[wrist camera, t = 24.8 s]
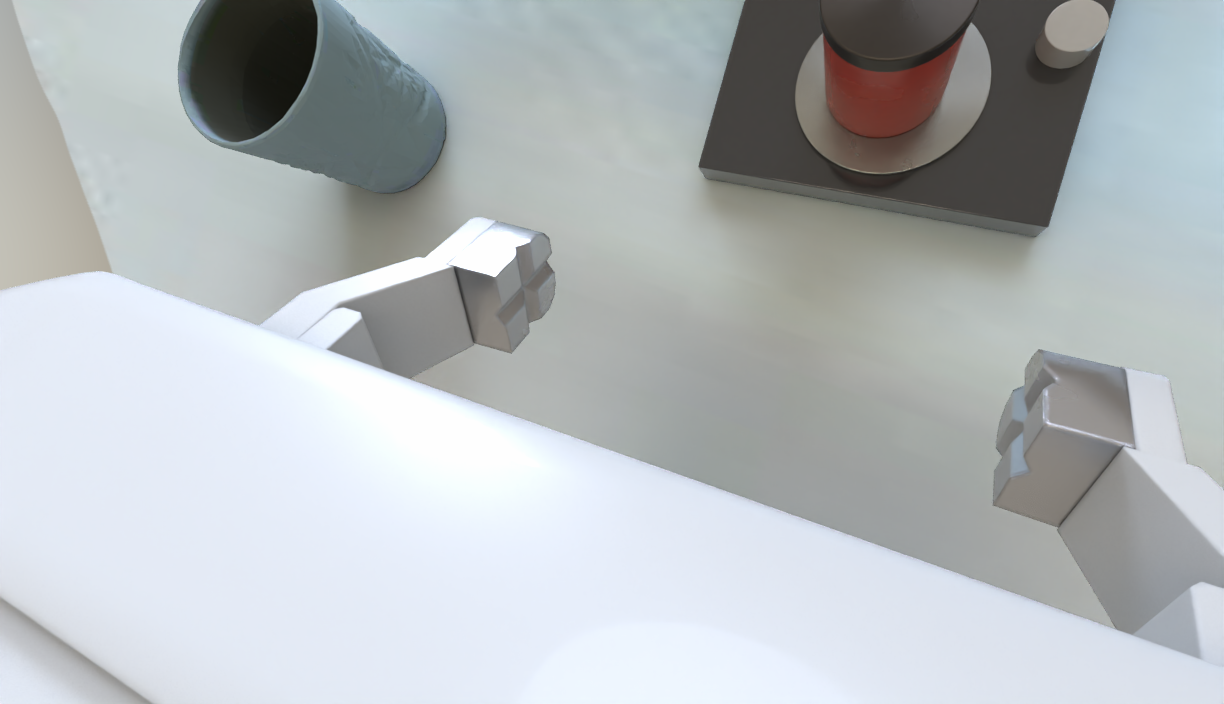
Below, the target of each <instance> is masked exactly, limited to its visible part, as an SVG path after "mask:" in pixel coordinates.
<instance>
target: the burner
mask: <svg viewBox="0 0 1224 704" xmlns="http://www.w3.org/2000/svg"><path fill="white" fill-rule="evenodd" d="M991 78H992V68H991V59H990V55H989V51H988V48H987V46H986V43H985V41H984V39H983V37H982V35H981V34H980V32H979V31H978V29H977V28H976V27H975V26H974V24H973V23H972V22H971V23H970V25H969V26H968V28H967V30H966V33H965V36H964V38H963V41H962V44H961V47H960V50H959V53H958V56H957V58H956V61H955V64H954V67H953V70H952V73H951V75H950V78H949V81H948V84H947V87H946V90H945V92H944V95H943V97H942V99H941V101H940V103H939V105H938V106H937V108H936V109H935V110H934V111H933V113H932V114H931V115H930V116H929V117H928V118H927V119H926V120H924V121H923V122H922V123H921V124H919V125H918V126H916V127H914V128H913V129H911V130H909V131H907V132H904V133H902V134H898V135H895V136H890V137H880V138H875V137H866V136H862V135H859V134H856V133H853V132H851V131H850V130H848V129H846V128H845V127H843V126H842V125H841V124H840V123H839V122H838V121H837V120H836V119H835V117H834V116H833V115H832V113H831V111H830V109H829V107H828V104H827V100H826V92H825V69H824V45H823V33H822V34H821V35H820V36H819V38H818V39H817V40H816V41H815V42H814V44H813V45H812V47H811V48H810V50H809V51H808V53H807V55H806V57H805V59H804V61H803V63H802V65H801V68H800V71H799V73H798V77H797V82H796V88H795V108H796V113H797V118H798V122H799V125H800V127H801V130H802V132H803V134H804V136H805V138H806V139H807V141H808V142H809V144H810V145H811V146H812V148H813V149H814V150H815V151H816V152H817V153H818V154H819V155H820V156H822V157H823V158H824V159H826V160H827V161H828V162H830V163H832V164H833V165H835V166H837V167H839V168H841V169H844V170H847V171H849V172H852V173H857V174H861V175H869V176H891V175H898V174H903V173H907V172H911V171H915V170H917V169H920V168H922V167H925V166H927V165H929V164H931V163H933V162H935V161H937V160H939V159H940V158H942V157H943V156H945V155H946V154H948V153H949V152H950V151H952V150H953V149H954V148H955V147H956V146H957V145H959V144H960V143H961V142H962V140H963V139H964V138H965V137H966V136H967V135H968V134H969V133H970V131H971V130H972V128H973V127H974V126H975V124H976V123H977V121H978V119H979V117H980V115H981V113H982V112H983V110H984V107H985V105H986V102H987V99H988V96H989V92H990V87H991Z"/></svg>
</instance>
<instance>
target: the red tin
mask: <svg viewBox="0 0 1224 704" xmlns="http://www.w3.org/2000/svg"><path fill="white" fill-rule="evenodd" d="M979 1H980V0H819V11H820V23H821V28H822V31H823V45H824V69H825V92H826V100H827V104H828V107H829V109H830V111H831V113H832V115H833V116H834V117H835V119H836V120H837V121H838V122H839V123H840V124H841V125H842V126H843V127H845V128H846V129H848V130H850V131H851V132H853V133H856V134H859V135H862V136H866V137H875V138H880V137H890V136H895V135H898V134H902V133H904V132H907V131H909V130H911V129H913V128H914V127H916V126H918V125H919V124H921V123H922V122H923V121H924V120H926V119H927V118H928V117H929V116H930V115H931V114H932V113H933V111H934V110H935V109H936V108H937V106H938V105H939V103H940V101H941V99H942V97H943V95H944V92H945V90H946V87H947V84H948V81H949V78H950V75H951V73H952V70H953V67H954V64H955V61H956V58H957V56H958V53H959V50H960V47H961V44H962V41H963V38H964V36H965V33H966V30H967V28H968V26H969V25H970V23H971V21H972V19H973V17H974V15H975V12H976V10H977V7H978V4H979Z"/></svg>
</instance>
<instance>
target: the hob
mask: <svg viewBox="0 0 1224 704" xmlns="http://www.w3.org/2000/svg"><path fill="white" fill-rule="evenodd" d="M1115 1H1116V0H980V1H979V4H978V7H977V10H976V12H975V15H974V17H973V19H972V21H971V22H972V23H973V24H974V26H975V27H976V28H977V29H978V31H979V32H980V34H981V35H982V37H983V39H984V41H985V43H986V46H987V48H988V51H989V55H990V59H991V68H992V78H991V87H990V92H989V96H988V99H987V102H986V105H985V107H984V110H983V112H982V113H981V115H980V117H979V119H978V121H977V123H976V124H975V126H974V127H973V128H972V130H971V131H970V133H969V134H968V135H967V136H966V137H965V138H964V139H963V140H962V142H961V143H960V144H959V145H957V146H956V147H955V148H954V149H953V150H952V151H950V152H949V153H948V154H946V155H945V156H943V157H942V158H940V159H939V160H937V161H935V162H933V163H931V164H929V165H927V166H925V167H922V168H920V169H917V170H915V171H911V172H907V173H903V174H898V175H891V176H869V175H861V174H857V173H852V172H849V171H847V170H844V169H841V168H839V167H837V166H835V165H833V164H832V163H830V162H828V161H827V160H826V159H824V158H823V157H822V156H820V155H819V154H818V153H817V152H816V151H815V150H814V149H813V148H812V146H811V145H810V144H809V142H808V141H807V139H806V138H805V136H804V134H803V132H802V130H801V127H800V125H799V122H798V118H797V113H796V108H795V88H796V82H797V77H798V73H799V71H800V68H801V65H802V63H803V61H804V59H805V57H806V55H807V53H808V51H809V50H810V48H811V47H812V45H813V44H814V42H815V41H816V40H817V39H818V38H819V36H820V35H821V34H822V33H823V31H822V28H821V23H820V11H819V0H745V2H744V5H743V9H742V13H741V16H740V20H739V23H738V27H737V30H736V34H735V38H734V41H733V45H732V48H731V52H730V55H729V59H728V63H727V66H726V70H725V73H724V77H723V80H722V84H721V88H720V91H719V95H718V98H717V102H716V105H715V109H714V113H713V116H712V120H711V123H710V127H709V130H708V134H707V138H706V141H705V145H704V148H703V152H702V155H701V159H700V163H699V169H700V170H701V172H702V173H703V175H704V177H705V178H707V179H712V180H718V181H723V182H729V183H735V184H740V185H746V186H751V187H757V188H763V189H768V190H774V191H780V192H785V193H791V194H796V195H802V196H808V197H813V198H819V199H824V200H830V201H836V202H841V203H847V204H853V205H858V206H864V207H869V208H875V209H881V210H886V211H892V212H897V213H903V214H909V215H914V216H920V217H926V218H931V219H937V220H942V221H948V222H954V223H959V224H965V225H971V226H976V227H982V228H987V229H993V230H999V231H1004V232H1010V233H1015V234H1021V235H1027V236H1032V237H1036V236H1037V235H1039V234H1040V233H1041V232H1042V231H1044V230H1045V229H1046V228H1047V227H1048V226H1049V223H1050V220H1051V216H1052V213H1053V210H1054V206H1055V203H1056V200H1057V196H1058V193H1059V189H1060V186H1061V183H1062V179H1063V176H1064V173H1065V169H1066V166H1067V163H1068V159H1069V156H1070V152H1071V149H1072V146H1073V142H1074V139H1075V136H1076V132H1077V129H1078V126H1079V122H1080V119H1081V115H1082V112H1083V109H1084V105H1085V102H1086V99H1087V95H1088V92H1089V88H1090V85H1091V82H1092V78H1093V75H1094V72H1095V68H1096V65H1097V62H1098V58H1099V55H1100V51H1101V48H1102V45H1103V41H1104V38H1105V35H1106V32H1107V29H1108V26H1109V21H1110V18H1111V14H1112V11H1113V8H1114V4H1115Z"/></svg>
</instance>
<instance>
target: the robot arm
mask: <svg viewBox="0 0 1224 704" xmlns="http://www.w3.org/2000/svg"><path fill="white" fill-rule="evenodd" d="M551 254H552V251H551V245H550V239H549V237H547V236H546V235H545V234H544V233H542V232H538V231H534V230H530V229H526V228H522V227H518V226H515V225H511V224H507V223H503V222H498V221H494V220H490V219H486V218H482V217H476V218H471V219H470V220H469V221H468V222H467V223H466V224H464V225H463V226H462V227H461V228H460V229H458V230H457V231H456V232H455V233H454V234H453V235H451V236H450V237H449V238H448V239H447V240H446V241H444V242H443V243H442V244H441V245H440V246H439V247H437V248H436V249H435V250H434V251H433V252H431V253H430V254H429V255H428V256H427V257H426V258H421V257H416V258H413V259H409V260H406V261H403V262H399V263H396V264H393V265H390V266H386V267H383V268H380V269H377V270H373V271H370V272H367V273H363V274H360V275H357V276H354V277H350V278H347V279H344V280H341V281H337V282H334V283H331V284H327V285H324V286H321V287H318V288H314V289H311V290H308V291H305V292H302V293H301V294H299V295H298V296H297V297H295V298H294V299H293V300H292V301H290V302H289V303H288V304H286V305H285V306H284V307H282V308H281V309H280V310H278V311H277V312H276V313H274V314H273V315H272V316H271V317H269V318H268V319H267V320H265V321H264V322H263V323H261V324H260V325H259V326H258V325H256V324H253V323H250V322H247V321H244V320H241V319H239V318H236V317H233V316H230V315H227V314H225V313H222V312H219V311H216V310H213V309H210V308H208V307H205V306H202V305H199V304H196V303H194V302H191V301H188V300H185V299H182V298H179V297H177V296H174V295H171V294H168V293H165V292H163V291H160V290H157V289H154V288H151V287H148V286H146V285H143V284H140V283H138V282H135V281H133V280H130V279H127V278H125V277H122V276H119V275H116V274H112V273H107V272H100V271H99V272H98V271H97V272H87V273H80V274H74V275H68V276H63V277H57V278H52V279H47V280H43V281H38V282H34V283H30V284H25V285H21V286H16V287H12V288H8V289H4V290H0V704H1224V489H1223V488H1222V487H1221V486H1219V485H1218V484H1217V483H1216V482H1215V481H1214V480H1213V479H1212V478H1211V477H1210V476H1209V475H1208V474H1207V473H1206V472H1205V471H1204V470H1203V469H1202V468H1201V467H1197V466H1193V465H1190V464H1188V463H1187V459H1186V454H1185V449H1184V445H1183V440H1182V435H1181V430H1180V426H1179V421H1178V416H1177V412H1176V407H1175V402H1174V398H1173V393H1172V388H1171V383H1170V381H1169V380H1168V379H1167V378H1166V377H1165V376H1163V375H1158V374H1154V373H1149V372H1144V371H1139V370H1134V369H1130V368H1125V367H1120V368H1119V367H1114V366H1110V365H1106V364H1101V363H1097V362H1093V361H1088V360H1084V359H1080V358H1075V357H1071V356H1066V355H1062V354H1058V353H1053V352H1049V351H1045V350H1040V349H1038V351H1037V352H1036V353H1035V354H1034V355H1033V356H1032V358H1031V360H1030V361H1029V363H1028V365H1027V367H1026V368H1025V385H1024V386H1022V387H1020V388H1017V389H1015V390H1013V392H1012V394H1011V396H1010V398H1009V400H1008V402H1007V403H1006V405H1005V408H1004V411H1003V414H1002V416H1001V419H1000V422H999V427H998V432H997V439H996V449H997V450H998V452H999V453H1000V454H1001V456H1002V458H1001V460H1000V462H999V464H998V465H997V467H996V469H995V470H994V488H993V506H996V507H999V508H1002V509H1005V510H1008V511H1011V512H1014V513H1017V514H1020V515H1023V516H1026V517H1029V518H1032V519H1035V520H1037V521H1040V522H1043V523H1046V524H1049V525H1052V526H1055V527H1058V529H1057V531H1058V532H1059V534H1060V536H1061V537H1062V539H1063V541H1064V542H1065V544H1066V546H1067V547H1068V549H1069V551H1070V552H1071V554H1072V556H1073V557H1074V559H1075V561H1076V562H1077V564H1078V566H1079V567H1080V569H1081V571H1082V572H1083V574H1084V576H1085V577H1086V579H1087V581H1088V582H1089V584H1090V586H1091V587H1092V589H1093V591H1094V592H1095V594H1096V596H1097V597H1098V599H1099V601H1100V602H1101V604H1102V606H1103V607H1104V609H1105V611H1106V612H1107V614H1108V616H1109V617H1110V619H1111V621H1112V622H1113V624H1114V626H1115V627H1116V629H1114V628H1111V627H1108V626H1105V625H1103V624H1100V623H1097V622H1094V621H1091V620H1088V619H1086V618H1083V617H1080V616H1077V615H1074V614H1071V613H1069V612H1066V611H1063V610H1060V609H1057V608H1055V607H1052V606H1049V605H1046V604H1043V603H1040V602H1038V601H1035V600H1032V599H1029V598H1026V597H1023V596H1021V595H1018V594H1015V593H1012V592H1009V591H1007V590H1004V589H1001V588H998V587H995V586H992V585H989V584H987V583H984V582H981V581H978V580H975V579H972V578H970V577H967V576H964V575H961V574H958V573H955V572H953V571H950V570H947V569H944V568H941V567H938V566H936V565H933V564H930V563H927V562H924V561H921V560H919V559H916V558H913V557H910V556H907V555H904V554H902V553H899V552H896V551H893V550H890V549H887V548H885V547H882V546H879V545H876V544H873V543H871V542H868V541H865V540H862V539H859V538H856V537H854V536H851V535H848V534H845V533H842V532H840V531H837V530H834V529H831V528H828V527H826V526H823V525H820V524H817V523H814V522H811V521H809V520H806V519H803V518H800V517H797V516H795V515H792V514H789V513H786V512H783V511H781V510H778V509H775V508H772V507H769V506H767V505H764V504H761V503H758V502H755V501H752V500H750V499H747V498H744V497H741V496H738V495H736V494H733V493H730V492H727V491H724V490H722V489H719V488H716V487H713V486H710V485H707V484H705V483H702V482H699V481H696V480H693V479H690V478H688V477H685V476H682V475H679V474H676V473H674V472H671V471H668V470H665V469H662V468H659V467H657V466H654V465H651V464H648V463H645V462H642V461H640V460H637V459H634V458H631V457H628V456H625V455H623V454H620V453H617V452H614V451H611V450H608V449H606V448H603V447H600V446H597V445H594V444H592V443H589V442H586V441H583V440H580V439H577V438H575V437H572V436H569V435H566V434H563V433H560V432H558V431H555V430H552V429H549V428H546V427H543V426H541V425H538V424H535V423H532V422H529V421H526V420H524V419H521V418H518V417H515V416H512V415H510V414H507V413H504V412H501V411H498V410H495V409H493V408H490V407H487V406H484V405H481V404H478V403H476V402H473V401H470V400H467V399H464V398H462V397H459V396H456V395H453V394H450V393H447V392H445V391H442V390H439V389H436V388H433V387H430V386H428V385H425V384H422V383H419V382H416V381H414V380H411V379H409V378H411V377H413V376H415V375H417V374H419V373H421V372H423V371H425V370H427V369H429V368H431V367H433V366H434V365H436V364H438V363H440V362H442V361H444V360H446V359H448V358H450V357H452V356H454V355H456V354H458V353H460V352H462V351H464V350H466V349H468V348H469V347H471V346H473V345H474V343H476V344H479V345H483V346H486V347H490V348H493V349H497V350H500V351H504V352H507V353H511V354H512V352H513V351H514V350H515V349H516V348H517V347H518V345H519V344H520V343H521V342H522V341H523V340H524V338H525V337H526V336H527V335H528V334H529V333H530V330H529V323H530V322H533V321H535V320H538V319H540V318H542V317H543V316H544V315H545V313H546V312H547V311H548V310H549V308H550V306H551V303H552V300H553V298H554V295H555V286H556V281H555V273H554V271H553V270H552V268H551V267H550V266H549V264H548V263H547V259H548V258H549V256H550V255H551Z"/></svg>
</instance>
